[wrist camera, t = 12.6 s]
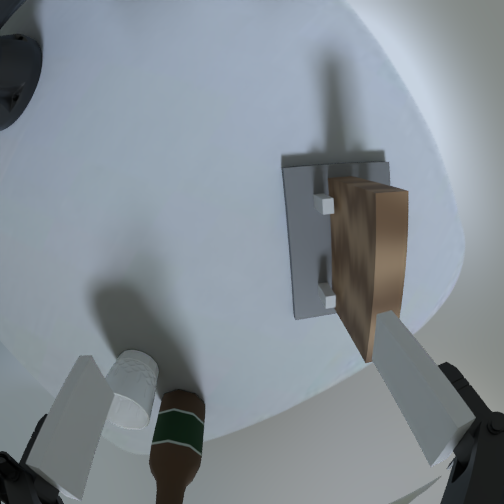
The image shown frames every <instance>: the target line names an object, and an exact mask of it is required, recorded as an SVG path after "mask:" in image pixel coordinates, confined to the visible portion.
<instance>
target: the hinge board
mask: <svg viewBox="0 0 504 504" xmlns="http://www.w3.org/2000/svg"><path fill="white" fill-rule="evenodd" d="M282 176H283V186H284V196H285V206H286V217H287V228H288V240H289V253H290V266H291V279H292V294H293V310H294V317H295V320H299V319H305V318H312V317H318V316H323V315H329V314H335V313H337V312H336V310H335V309H334V307H336V295H335V293H334V292H333V290H332V249H331V222H330V214H334V199H333V198H332V197H330V196H329V187H328V178H334V177H348V176H353V177H357V178H362V179H366V180H370V181H374V182H377V183H381V184H385V185H389V186H390V171H389V162H357V163H337V164H321V165H308V166H296V167H285V168H282Z"/></svg>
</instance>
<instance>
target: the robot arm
mask: <svg viewBox="0 0 504 504" xmlns="http://www.w3.org/2000/svg"><path fill="white" fill-rule="evenodd" d="M25 1H26V0H0V29H1V27H2V26H3V25H4V24H5V23H6V21H7V20H8V19H9V18H10V17H11V16H12V15H13V13H14V12H15V11H16V10H17V9H18V8H19V7H20V6H21V5H22V4H23V3H24V2H25ZM41 63H42V55H41V49H40V47H39V44H38V43H37V42H36V41H35V40H34V39H32V38H30V37H28V36H25V35H22V34H13V35H4V36H0V131H1V130H4V129H6V128H8V127H9V126H10V125H12V124H13V123H14V122H15V121H16V120H17V119H18V118H19V116H20V115H21V114H22V113H23V111H24V110H25V108H26V107H27V105H28V103H29V101H30V99H31V97H32V95H33V93H34V91H35V88H36V86H37V83H38V79H39V76H40V71H41ZM372 361H373V363H374V364H375V366H376V368H377V369H378V371H379V373H380V375H381V376H382V378H383V379H384V382H385V383H386V385H387V387H388V389H389V390H390V392H391V394H392V396H393V397H394V399H395V401H396V403H397V405H398V406H399V408H400V410H401V412H402V414H403V415H404V417H405V419H406V421H407V423H408V425H409V427H410V428H411V430H412V432H413V434H414V436H415V437H416V440H417V442H418V443H419V445H420V447H421V449H422V451H423V453H424V455H425V457H426V459H427V461H428V463H429V465H430V467H432V466H434V465H436V464H438V463H439V462H442V461H443V460H445V459H447V458H448V457H449V456H450V454H451V453H452V452H454V454H455V455H456V457H455V458H454V459H453V460H452V462H451V463H450V464H449V466H448V468H447V469H450V468H451V467H452V470H451V473H450V476H449V479H448V483H447V486H446V489H445V492H444V495H443V498H442V501H441V503H440V504H504V414H503V413H500V412H492V411H491V410H490V409H489V408H488V407H487V406H486V404H485V403H484V402H483V400H482V399H481V398H480V396H479V395H478V394H477V392H476V391H475V390H474V389H473V388H472V386H471V385H469V382H468V381H467V380H466V379H465V378H464V376H463V375H462V374H461V373H460V371H459V370H458V369H457V368H456V367H454V366H453V365H451V364H449V363H448V362H445V363H443V364H440V365H438V366H437V365H436V363H435V362H434V361H433V359H432V358H431V357H430V356H429V354H428V353H427V352H426V351H425V350H424V348H423V347H422V346H421V345H420V343H419V342H418V341H417V340H416V338H415V337H414V336H413V335H412V334H411V332H410V331H409V330H408V329H407V328H406V326H405V325H404V324H403V323H402V322H401V320H400V319H399V318H398V317H397V316H396V315H395V313H394V312H393V311H392V310H391V311H387V312H383V313H380V314H377V318H376V329H375V338H374V346H373V354H372ZM114 395H115V394H114V393H113V391H112V390H111V388H110V386H109V385H108V383H107V381H106V380H105V378H104V376H103V375H102V373H101V371H100V370H99V368H98V366H97V364H96V363H95V361H94V359H93V357H92V355H90V356H79V358H78V359H77V361H76V363H75V364H74V366H73V368H72V370H71V372H70V373H69V375H68V377H67V379H66V381H65V382H64V384H63V386H62V388H61V390H60V392H59V394H58V396H57V397H56V399H55V401H54V403H53V405H52V407H51V409H50V412H49V413H48V414H45V415H44V416H43V417H42V418H41V419H40V420H39V422H38V424H37V426H36V428H35V432H33V434H32V436H31V437H32V438H31V439H30V440H29V443H28V445H27V447H26V449H25V451H24V454H23V456H22V458H21V460H20V463H17V462H16V461H15V460H14V459H13V458H12V457H11V456H10V455H9V454H8V453H7V452H4V451H1V452H0V504H1V501H2V502H4V503H5V504H64V503H63V501H62V499H61V498H60V496H58V493H59V491H60V492H61V493H63V494H64V495H65V496H67V497H69V498H72V499H75V500H79V501H81V500H82V497H83V493H84V489H85V485H86V482H87V478H88V475H89V471H90V468H91V464H92V461H93V458H94V454H95V451H96V448H97V445H98V442H99V439H100V436H101V433H102V430H103V427H104V424H105V421H106V418H107V415H108V412H109V409H110V406H111V404H112V401H113V398H114Z"/></svg>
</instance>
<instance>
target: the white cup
mask: <svg viewBox="0 0 504 504" xmlns="http://www.w3.org/2000/svg"><path fill="white" fill-rule="evenodd" d="M158 374H159V369H158V366H157V363H156V362H155V361H154V360H153V359H152V357H150V356H149V355H147V354H145V353H144V352H142V351H137V350H126V351H124V352H123V353H121V354H120V355H119V357H118V358H117V360H116V362H115V364H114V365H113V366H112V368H111V369H110V371H109V373H108V374H107V376H106V378H105V380H106V381H107V383H108V385H109V386H110V388H111V390H112V391H113V393H114V394H115V395H114V398H113V401H112V404H111V406H110V409H109V412H108V415H107V418H106V420H108V421H109V422H111V423H112V424H114V425H117V426H119V427H122V428H125V429H131V430H138V429H143V428H145V427H146V426H147V425H148V424H149V421H150V416H151V411H152V406H153V402H154V396H155V391H156V382H157V378H158Z"/></svg>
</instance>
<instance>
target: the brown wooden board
mask: <svg viewBox="0 0 504 504" xmlns="http://www.w3.org/2000/svg"><path fill="white" fill-rule="evenodd" d="M328 187H329V196H330V197H332V198H333V199H334V214H330V222H331V249H332V290H333V292H334V293H335V295H336V307H334V309H335V310H336V312H337V314H338V315H339V317H340V319H341V321H342V322H343V324H344V326H345V328H346V329H347V331H348V333H349V334H350V336H351V338H352V340H353V341H354V343H355V345H356V347H357V349H358V350H359V352H360V354H361V356H362V357H363V359H364V361H365V363H368V362H372V354H373V346H374V338H375V329H376V318H377V314H380V313H383V312H387V311H391V310H392V311H393V312H394V313H395V315H396V316H397V317H398V318H399V317H400V310H401V303H402V295H403V287H404V277H405V267H406V254H407V237H408V191H407V190H403V189H400V188H396V187H392V186H389V185H385V184H381V183H377V182H374V181H370V180H366V179H362V178H357V177H353V176H348V177H334V178H328Z"/></svg>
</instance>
